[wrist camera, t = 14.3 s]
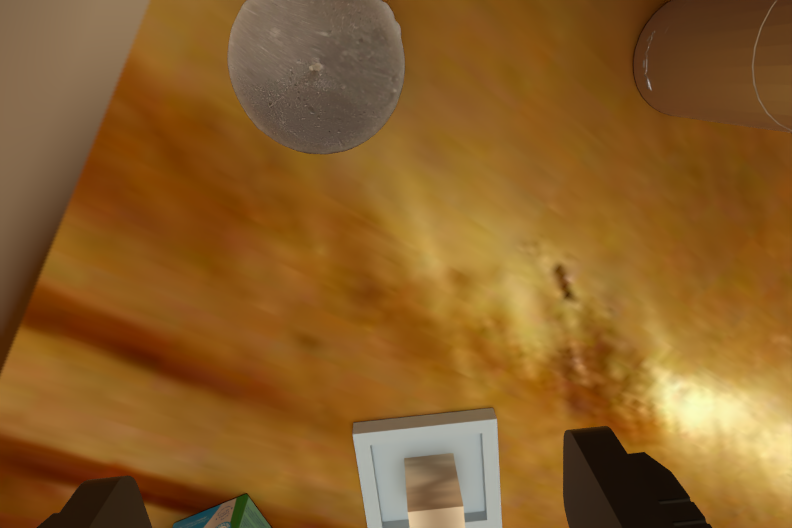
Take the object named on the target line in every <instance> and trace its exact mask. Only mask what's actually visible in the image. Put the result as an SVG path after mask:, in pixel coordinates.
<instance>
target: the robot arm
mask: <svg viewBox="0 0 792 528" xmlns="http://www.w3.org/2000/svg"><path fill="white" fill-rule="evenodd" d="M633 64H634V77H635V80H636V84H637V87H638V89H639V91H640V93H641V95H642V97H643V98H644V99H645V100H646V101H647V102H648V104H649V105H650V106H652V107H653V108H655V109H656V110H658V111H659V112H662V113H665V114H668V115H671V116H678V117H685V118H692V119H698V120H705V121H712V122H719V123H726V124H733V125H741V126H748V127H755V128H762V129H769V130H776V131H784V132H791V133H792V0H671V1H670V2H668V3H666V4H665V5H664V6H663V7H662V8H660V9H659V10H658V11H657V12H656V13H655V14H654V15H653V17H652V18H651V19H650V20H649V22H648V23H647V24H646V26H645V28H644V30H643V31H642V33H641V35H640V37H639V40H638V43H637V46H636V49H635V55H634V62H633ZM563 498H564V507H565V512H566V517H567V521H568V524H569V527H570V528H712V527H711V525H710V524H707V523H706V520H705V517H704V516H703V514H702V513H701V512H700V510H699V509H698V508H697V506H696V505H695V503H694V502H691V501H690V497H689V495H688V494H687V493H686V491H685V490H684V488H683V487H682V486H681V484H680V483H679V482H678V480H677V479H676V478H675V476H674V475H673V474H672V472H671V471H669V470H668V469H667V468H665V467H664V466H662V465H661V464H660V463H658V462H657V461H656V460H654V459H653V458H651V457H650V456H649V455H647V454H646V453H645V452H641V453H632V454H627V452H626V451H625V449H624V448H623V446H622V445H621V443H620V442H619V440H618V439H617V437H616V436H615V434H614V432H613V431H612V430H611V429H610V428H609V427H608V426H601V427H591V428H582V429H573V430H566V431H565V433H564V446H563ZM37 528H152V526H151V523H150V520H149V517H148V514H147V511H146V508H145V506H144V503H143V500H142V497H141V494H140V491H139V488H138V485H137V483H136V481H135V480H134V478H133V477H131V476H120V477H111V478H101V479H92V480H86V481H85V482H83V483H82V484H81V485H80V486H79V487H78V488H77V490H76V491H75V492H74V494H73V495H72V496H71V498H70V499H69V501H68V502H67V503H66V505H65V506H64V507H63V509H62V510H61V512H60V513H54V514H52V515H51V516H50V517H49V518H47V519H46V520H45V521H44V522H43V523H41V524H40V525H39V526H38V527H37Z"/></svg>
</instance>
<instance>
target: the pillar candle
mask: <svg viewBox="0 0 792 528" xmlns="http://www.w3.org/2000/svg"><path fill="white" fill-rule="evenodd" d="M228 69H229V74H230V79H231V83H232V86H233V89H234V91H235V94H236V96H237V98H238V100H239V102H240V104H241V105H242V107H243V109H244V111H245V112H246V114H247V115H248V117H249V118H250V119H251V120H252V121H253V123H254V124H255V126H256V127H257V128H258V129H260V130H261V131H263V132H264V133H265V134H266V135H268V136H269V137H271V138H272V139H274V140H275V141H276V142H278V143H280V144H282V145H284V146H286V147H289V148H291V149H293V150H296V151H300V152H304V153H309V154H331V153H338V152H343V151H346V150H349V149H352V148H354V147H356V146H358V145H360V144H362V143H364V142H365V141H367V140H368V139H370V138H371V137H372V136H373V135H375V134H376V133H377V132H378V131H379V130H380V129H381V128H382V127H383V126H384V124H385V123H386V122H387V120H388V119H389V117H390V116H391V114H392V113H393V111H394V109H395V107H396V105H397V102H398V99H399V97H400V94H401V91H402V87H403V83H404V74H405V57H404V50H403V44H402V40H401V28H400V25H399V24H398V22H396V21H395V18H394V15H393V12H392V10H391V9H390V7H389V5H387V3H385V2H383V1H382V0H247V1H246V2H245V3H244V4H243V5H242V7H241V9H240V11H239V13H238V15H237V17H236V19H235V22H234V23H233V25H232V29H231V34H230V39H229V45H228Z"/></svg>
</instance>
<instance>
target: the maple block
mask: <svg viewBox="0 0 792 528" xmlns="http://www.w3.org/2000/svg"><path fill="white" fill-rule="evenodd" d="M404 463H405V479H406V494H407V510H408V519H409V527H410V528H465V519H464V506H463V501H462V496H461V491H460V486H459V481H458V476H457V470H456V465H455V460H454V455H453V453H448V454H439V455H429V456H420V457H410V458H404Z"/></svg>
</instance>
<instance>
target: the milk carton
mask: <svg viewBox="0 0 792 528" xmlns="http://www.w3.org/2000/svg"><path fill="white" fill-rule="evenodd" d="M172 528H271V526H270V525H269V524H268V522H267V521H266V520H265V518H264V517H263V515H262V514H261V513H260V511H259V510H258V509H257V507H256V506H255V504H254V503H253V502H252V500H251V499H250V498H249V496H248V495H247V494H245V495H242V496H240V497H237V498H235V499H232V500H230V501H228V502H225V503H223V504H220V505H218V506H215V507H213V508H211V509H208V510H206V511H203V512H201V513H198V514H196V515H194V516H191V517H189V518H186V519H184V520H181V521H179V522H176V523H174V525H173V527H172Z"/></svg>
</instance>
